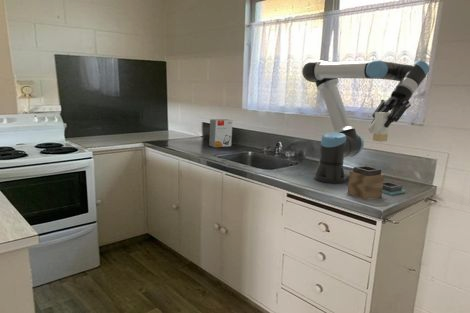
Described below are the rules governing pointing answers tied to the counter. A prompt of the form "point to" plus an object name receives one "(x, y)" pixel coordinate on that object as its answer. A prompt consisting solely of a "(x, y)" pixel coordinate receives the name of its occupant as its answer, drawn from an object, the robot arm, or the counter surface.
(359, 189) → the wooden planter box
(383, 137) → the plug
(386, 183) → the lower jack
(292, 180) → the counter surface
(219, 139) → the hard drive box
